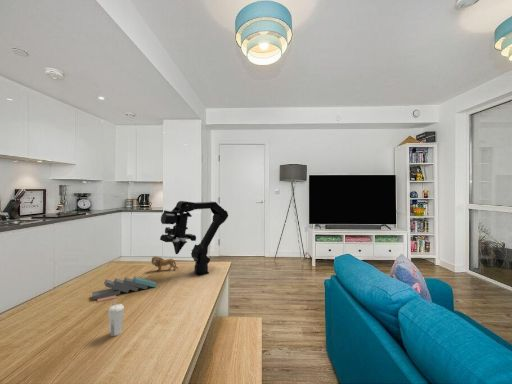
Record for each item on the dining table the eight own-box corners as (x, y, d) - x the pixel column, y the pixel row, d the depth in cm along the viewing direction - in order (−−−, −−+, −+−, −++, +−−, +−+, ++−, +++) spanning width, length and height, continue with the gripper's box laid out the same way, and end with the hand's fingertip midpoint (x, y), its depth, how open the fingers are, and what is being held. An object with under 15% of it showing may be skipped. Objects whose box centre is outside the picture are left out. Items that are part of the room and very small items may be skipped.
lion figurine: (151, 274, 138) (152, 257, 138) (150, 271, 143) (150, 255, 143) (179, 270, 145) (179, 254, 145) (177, 267, 150) (177, 252, 150)
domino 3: (136, 284, 119) (115, 278, 114) (138, 288, 115) (117, 281, 109) (134, 288, 118) (113, 281, 113) (136, 291, 114) (115, 285, 109)
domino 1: (118, 286, 114) (92, 292, 108) (120, 290, 110) (93, 296, 104) (118, 290, 114) (92, 295, 108) (120, 294, 110) (93, 299, 104)
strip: (113, 290, 115) (113, 289, 115) (116, 298, 107) (116, 297, 107) (95, 294, 111) (95, 293, 111) (97, 302, 103) (97, 301, 103)
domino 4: (145, 282, 121) (125, 277, 116) (148, 286, 117) (127, 280, 112) (143, 286, 121) (123, 280, 115) (146, 289, 117) (125, 283, 111)
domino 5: (154, 281, 124) (134, 276, 118) (157, 284, 120) (136, 279, 114) (152, 284, 123) (132, 279, 118) (155, 287, 119) (135, 282, 114)
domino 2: (127, 285, 116) (106, 279, 111) (129, 289, 112) (107, 282, 107) (125, 289, 116) (103, 282, 111) (127, 292, 112) (105, 286, 107)
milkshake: (119, 327, 85) (119, 297, 85) (126, 332, 82) (126, 302, 81) (104, 332, 81) (104, 302, 81) (111, 339, 78) (111, 307, 78)
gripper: (186, 222, 144) (182, 249, 144) (156, 221, 130) (152, 251, 129) (198, 225, 137) (194, 254, 137) (168, 225, 123) (163, 257, 122)
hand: (176, 254), depth 131 cm, fingers closed
